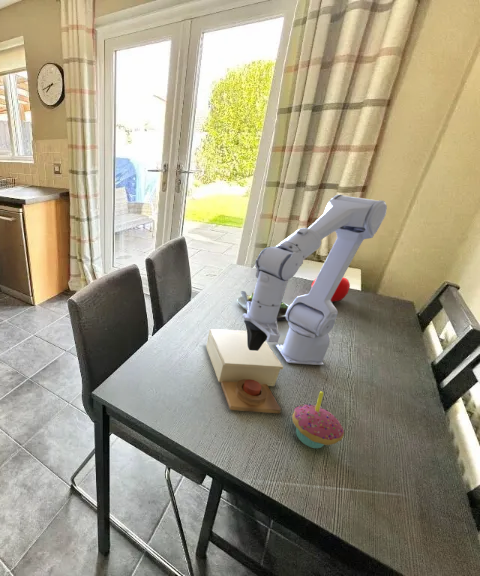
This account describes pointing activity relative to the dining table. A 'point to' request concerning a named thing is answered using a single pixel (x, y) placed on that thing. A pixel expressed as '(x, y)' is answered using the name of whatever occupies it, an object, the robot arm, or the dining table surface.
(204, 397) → the dining table surface
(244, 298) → the salad plate
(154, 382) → the dining table surface
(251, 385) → the button
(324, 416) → the cupcake
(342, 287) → the tomato
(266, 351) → the lid
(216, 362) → the bin
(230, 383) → the wooden base board
